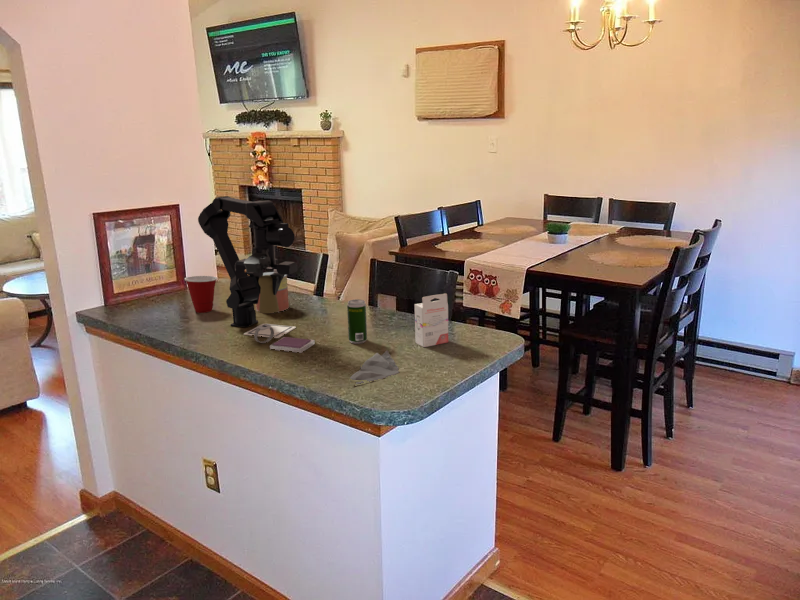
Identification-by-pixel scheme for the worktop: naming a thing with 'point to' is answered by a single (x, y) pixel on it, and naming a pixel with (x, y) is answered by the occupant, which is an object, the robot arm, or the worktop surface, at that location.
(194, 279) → the plastic cup
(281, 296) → the canned food
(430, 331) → the ink cartridge box
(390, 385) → the worktop surface
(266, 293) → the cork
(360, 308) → the green drink can
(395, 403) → the worktop surface
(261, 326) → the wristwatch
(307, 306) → the worktop surface
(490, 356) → the worktop surface
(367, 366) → the cloth
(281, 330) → the marked card
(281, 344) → the ink pad
